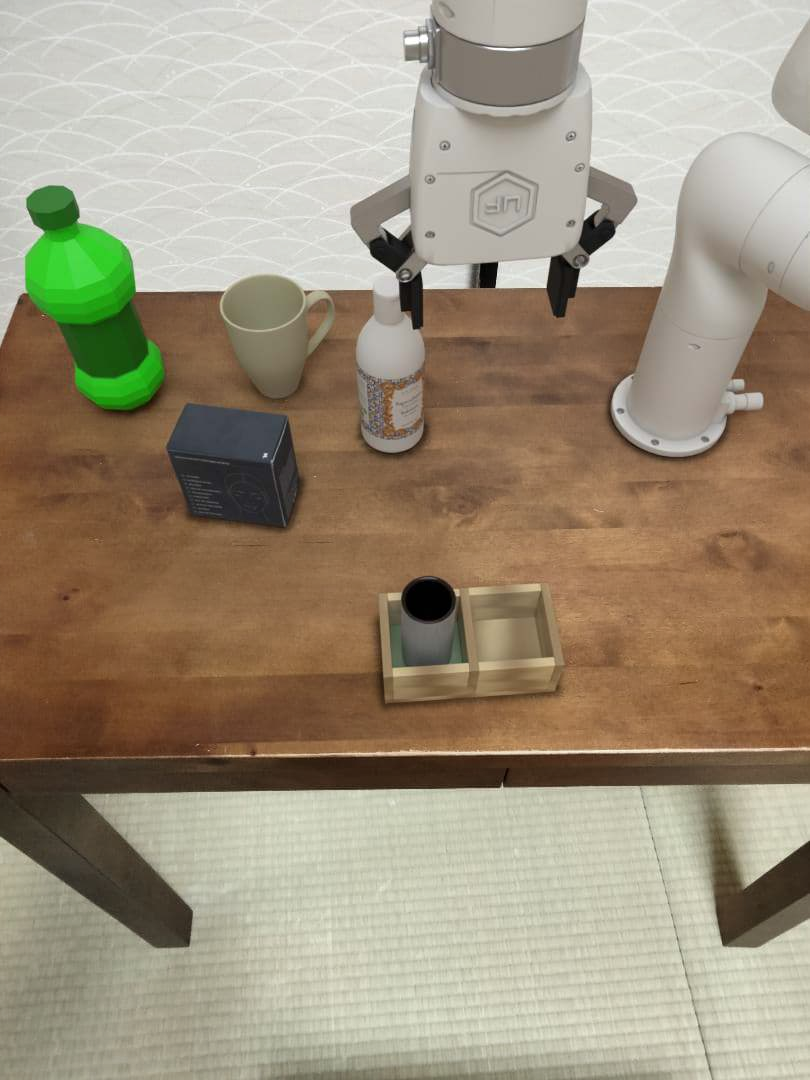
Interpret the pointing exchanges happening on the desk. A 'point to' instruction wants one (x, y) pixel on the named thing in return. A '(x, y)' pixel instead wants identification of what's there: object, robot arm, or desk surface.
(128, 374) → the plastic bottle
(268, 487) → the box
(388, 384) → the bath foam
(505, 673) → the wooden divided tray
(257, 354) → the mug
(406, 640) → the grey hollow cylinder
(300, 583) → the desk surface
